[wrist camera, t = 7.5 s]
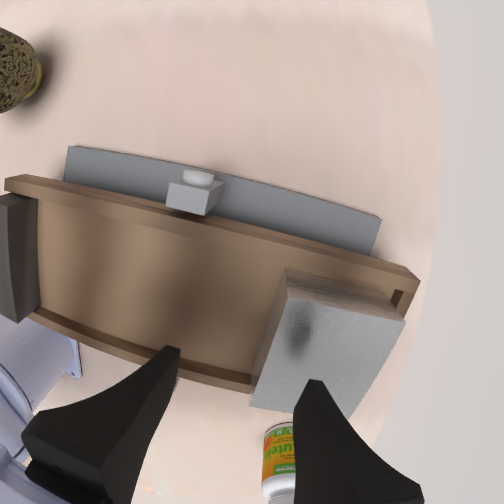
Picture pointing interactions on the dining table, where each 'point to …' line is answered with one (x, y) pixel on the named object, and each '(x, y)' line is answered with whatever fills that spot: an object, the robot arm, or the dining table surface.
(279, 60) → the dining table surface
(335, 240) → the stand
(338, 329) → the block
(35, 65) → the cup
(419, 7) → the dining table surface
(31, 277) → the seesaw beam
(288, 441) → the supplement bottle
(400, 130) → the dining table surface
